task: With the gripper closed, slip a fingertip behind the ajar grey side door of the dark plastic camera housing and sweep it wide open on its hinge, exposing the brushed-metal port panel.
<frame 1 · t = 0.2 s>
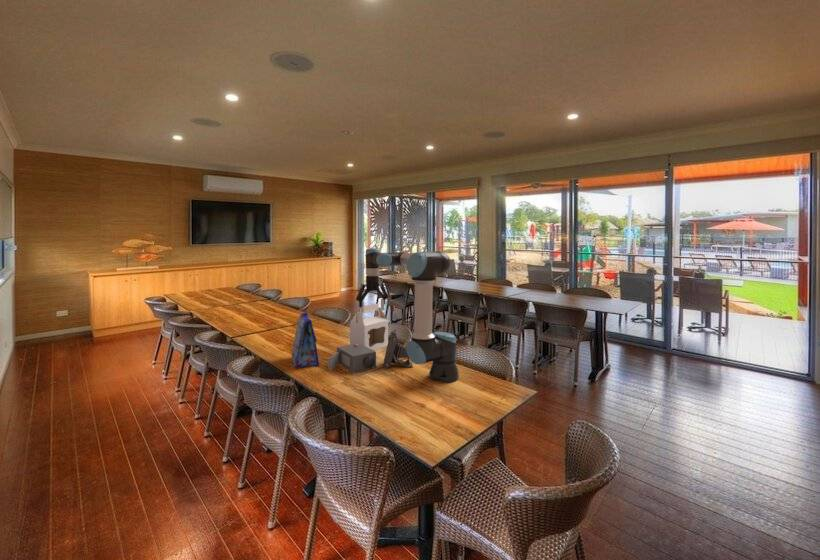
hand: (372, 311, 227), 28 cm above the table, fingers open, 13 cm apart
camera: (398, 365, 217), on the table
lunch bag: (304, 361, 222), on the table
housing: (356, 364, 217), on the table
gable box: (369, 348, 250), on the table
side door: (334, 360, 210), point 5 cm above the table, hinge at 50.0°
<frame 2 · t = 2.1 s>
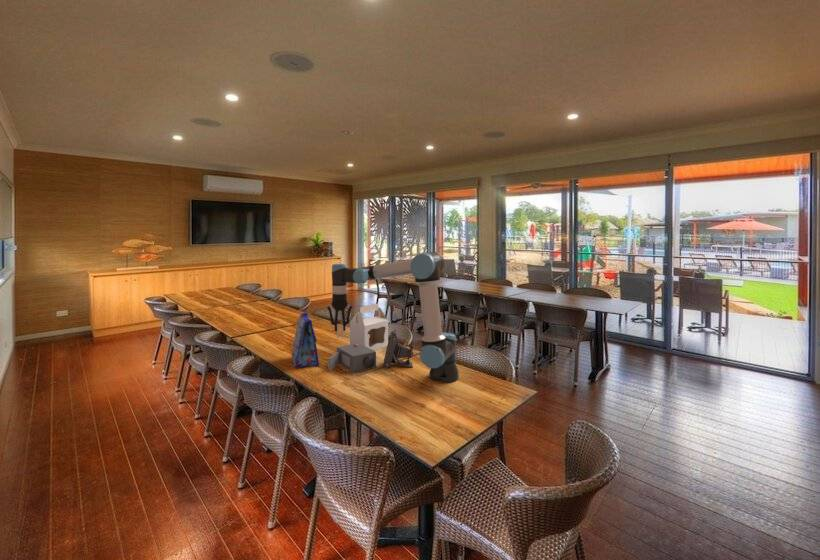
hand: (340, 336, 206), 18 cm above the table, fingers closed
nothing on the table moved.
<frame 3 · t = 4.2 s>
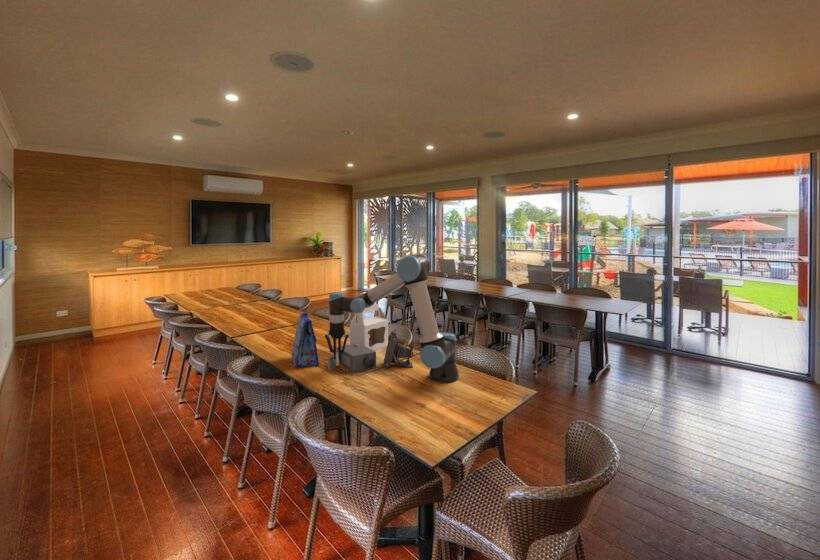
hand: (337, 364, 208), 3 cm above the table, fingers closed
side door: (334, 360, 210), point 5 cm above the table, hinge at 50.6°, touching gripper
everything else where it was.
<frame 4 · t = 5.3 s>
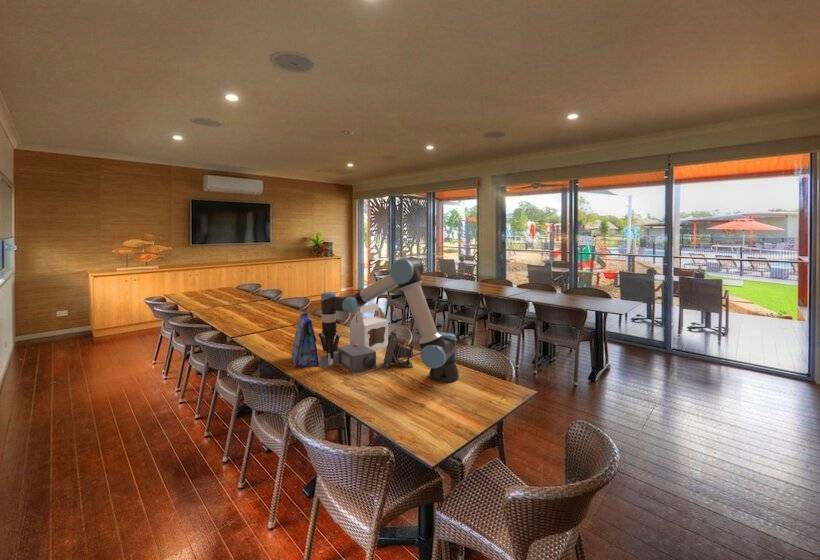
hand: (330, 364, 208), 3 cm above the table, fingers closed
side door: (330, 359, 212), point 5 cm above the table, hinge at 78.0°, touching gripper
everything else where it was.
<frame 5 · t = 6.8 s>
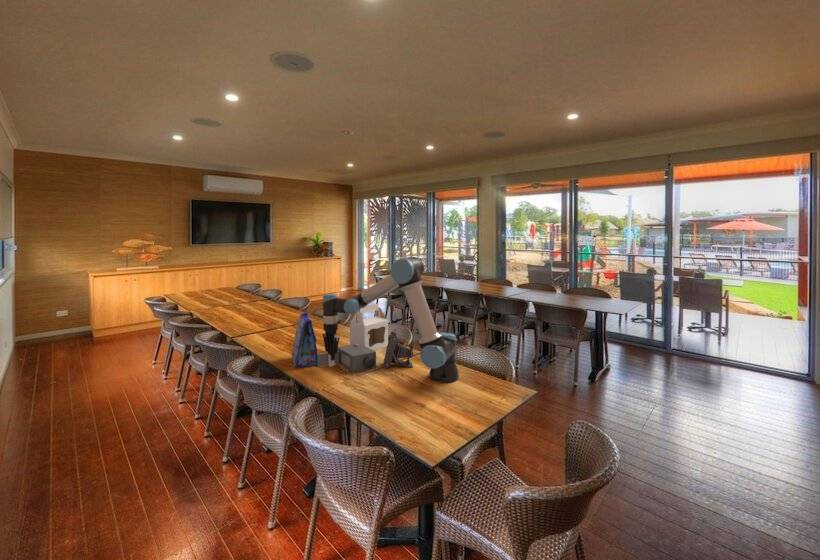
hand: (331, 365, 208), 2 cm above the table, fingers closed
side door: (329, 358, 213), point 5 cm above the table, hinge at 99.0°
everything else where it was.
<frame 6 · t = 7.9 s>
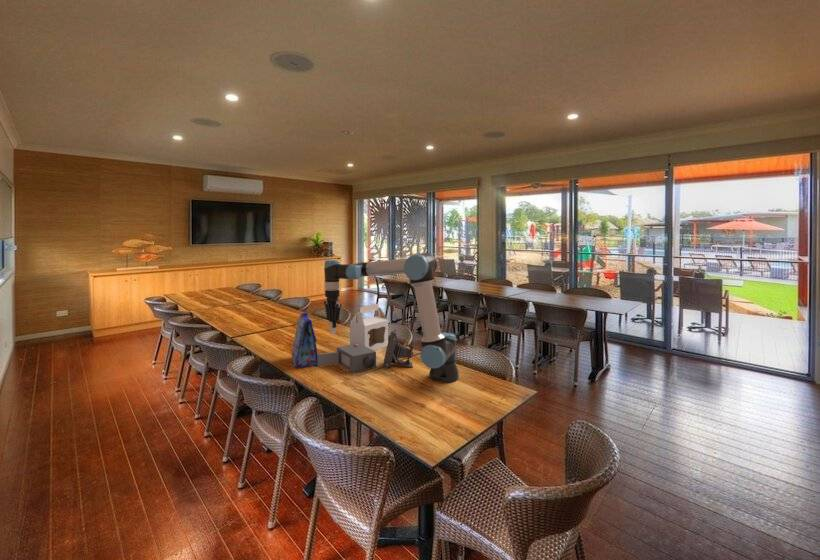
hand: (333, 333, 206), 20 cm above the table, fingers closed
nothing on the table moved.
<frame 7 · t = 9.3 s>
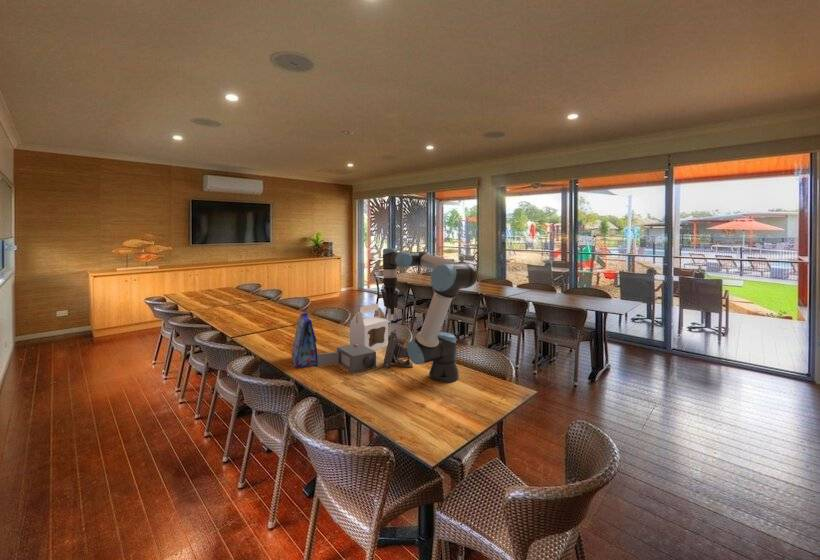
hand: (390, 319, 211), 26 cm above the table, fingers closed
nothing on the table moved.
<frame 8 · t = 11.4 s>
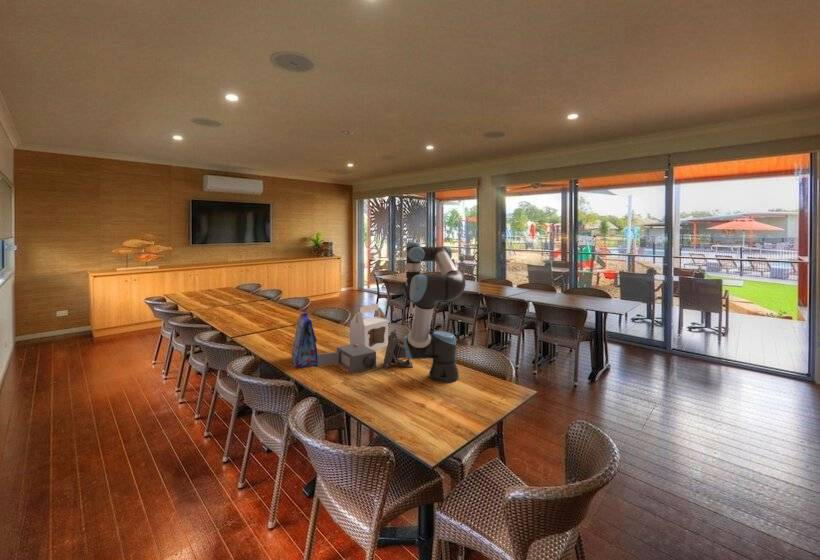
hand: (412, 313, 215), 29 cm above the table, fingers closed
nothing on the table moved.
at the end: side door at +99° (first picture: +50°) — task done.
